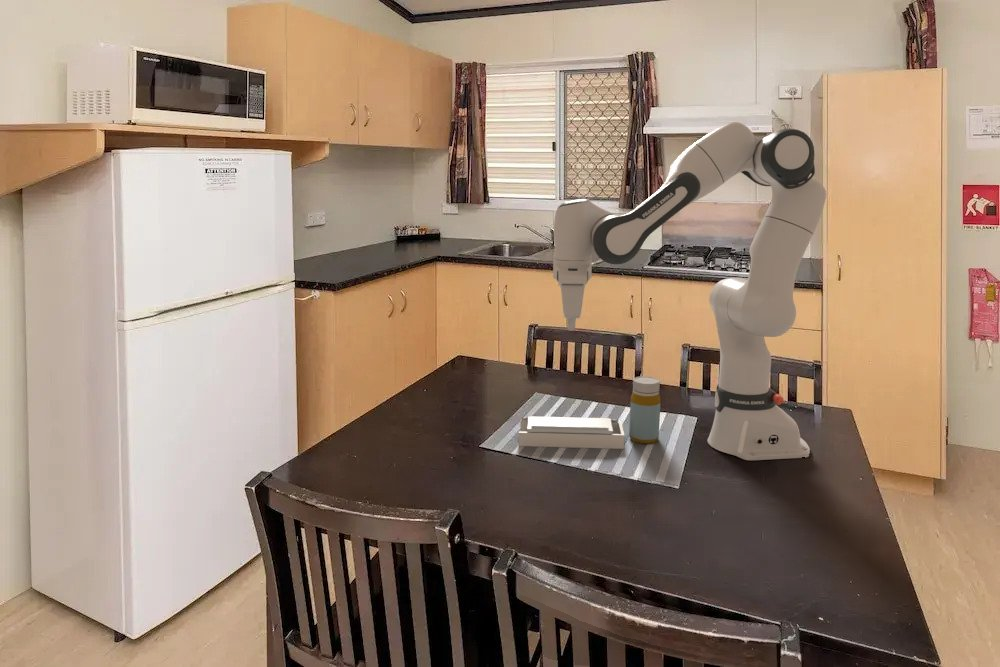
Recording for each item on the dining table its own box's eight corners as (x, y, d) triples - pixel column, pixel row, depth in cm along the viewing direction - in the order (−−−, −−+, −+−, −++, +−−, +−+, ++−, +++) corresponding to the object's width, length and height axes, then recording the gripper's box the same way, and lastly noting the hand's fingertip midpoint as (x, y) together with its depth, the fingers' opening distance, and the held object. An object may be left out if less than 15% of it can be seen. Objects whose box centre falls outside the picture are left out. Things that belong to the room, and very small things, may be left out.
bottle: (658, 445, 166) (661, 385, 162) (628, 443, 167) (631, 383, 164) (658, 434, 172) (661, 376, 169) (629, 432, 174) (631, 375, 170)
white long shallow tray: (620, 434, 172) (621, 419, 172) (624, 448, 164) (624, 432, 163) (520, 432, 174) (520, 416, 174) (518, 446, 166) (518, 429, 165)
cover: (610, 421, 171) (610, 416, 171) (612, 433, 163) (613, 428, 163) (528, 419, 173) (528, 414, 173) (527, 431, 165) (527, 426, 165)
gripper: (558, 264, 172) (557, 319, 175) (558, 277, 152) (557, 339, 155) (584, 264, 171) (583, 319, 175) (587, 277, 151) (586, 339, 155)
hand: (571, 329), depth 165 cm, fingers closed
